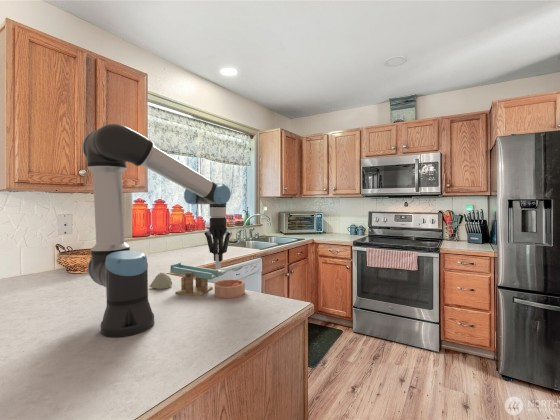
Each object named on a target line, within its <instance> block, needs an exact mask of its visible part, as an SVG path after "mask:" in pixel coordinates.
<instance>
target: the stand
mask: <svg viewBox="0 0 560 420" xmlns="http://www.w3.org/2000/svg"><path fill="white" fill-rule="evenodd" d="M208 280H209V279H203V278H198V277H195V285H194V277H193V273H191V272H186V273H185V275H183V277H181V278H180V283H181V284H180V287H181V289H178V290H177V291H175V295H185V296H188V295H189V296H197V297H199V296H200V297H201V296H202V295H204V294H206V293H208V292H209V291H211V290H213V289H212V288H213V287H214V286H209V285H208V284H209V282H208Z"/></svg>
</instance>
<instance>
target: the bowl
mask: <svg viewBox="0 0 560 420" xmlns="http://www.w3.org/2000/svg"><path fill="white" fill-rule="evenodd" d="M235 283H238V284H240V285H238V286H233V287H232V285H233V284H235ZM213 285H214V286H213V287H214V296H215V297H217V298H220V299H235V298H239V297H242V296H243V295H244V294H245V291H246V290H245V289H246V285H245V281H244V280H241V279H235V278H234V279H230V278H229V279H222V280H219V281H217V282H215V283H214V284H213Z"/></svg>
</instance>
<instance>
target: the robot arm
mask: <svg viewBox="0 0 560 420" xmlns="http://www.w3.org/2000/svg"><path fill="white" fill-rule="evenodd" d="M82 153H83V155H84V156H85V158H86V163H87V164H86V165H87V169H88V170H89V171H91V173H92V175H93V176H92V177H93V178H92V181H93V182H92V183H93V198H94V199H93V202H94V203H93V204H94V224H95V225H94V226H95V245H93V246H92V247H91V248H90V257H91V258H90V260H89V261H88V265H87V273H88V275H89V277H90V278H91V279H92V281H93V282H94V283H96V284H98V285H99V286H101V287H102V286H103V287H104V288H105V289H106V290H105V291H106V292H105V293H106V294H105V295H106V307H105V310H104V313H103V317H102V321H101V322H100V334H101V335H102V336H104V337H108V338H120V337H121V338H122V337H128V336H132V335H136V334H139V333H142V332H145V331H147V330H149V329H150V328H152V326H153V325H154V324H155V314H154V312H153V311H152V308H151V303H150V302H149V283H148V281H149V279H148V277H149V276H148V271H149V270H148V268H149V264H148V258H147V255H146V254H145V253H143V252H141V251H137V250H134V251H133V250H131V249H130V245H129V244H128V242H127V243H126V241H125V220H124V218H125V217H124V216H125V215H124V197H123V196H124V194H123V193H124V191H123V173H125V172H126V170H128V167H127V163H130V164H133V165H134V166H135V167H144V168H146V169H148V170H149V171H153V172H154V173H156V174H157V175H160V176H161V177H163V178H165V179H167V180H169V181H171V182H172V183H175V184H176V185H178V186H180V187H182V188H183V189H184V193H183V198H184V201H185V203H186V204H188V205H209V228H208V230H207V231H206V232H204V235H205V237H206V241H207V246H208V251H209V253H211V254H212V255H213V262H215V265H214V266H215V267H214V270H218V269H222V262H223V260H224V259H223V257H224V254H226V253H227V251H228V247H229V243H230V238H231V236H232V235H233V233H232V231H231V232H230V231H228V228H227V203H228V202H229V201H230V199H231V195H232V194H231V193H232V192H231V189H230V187H228V186H227V185H226V184H225V183H221V182H220V183H216V182H214V181H212V180H210V179H209V178H207V177H205V176H204V175H202V174H201V173H199V172H197V171H195V170H194V169H193V168H190V167H189V166H188V165H186V164H185V163H182V161H179V160H178V159H176V158H174V157H173V156H171V155H169V154H168V153H166V152H165V151H163V150H161V149H159V148H157V147H156V146H155V144H154V141H152V140H151V139H149V138H147V137H146V136H145V135H142V134H141V133H139V132H137V131H135V130H133V129H131V128H129V127H128V126H125V125H122V124H119V123H118V124H117V123H109V124H105V125H102V126H101V127H100V128H98V129H96V130H93V131H90V133H88V134H87V135H86V137H85V139H84V140H83V143H82ZM224 236H225V238H224Z"/></svg>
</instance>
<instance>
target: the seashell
mask: <svg viewBox="0 0 560 420" xmlns="http://www.w3.org/2000/svg"><path fill="white" fill-rule="evenodd" d="M172 285H173V281H172V279H171V277H170V276H169V275H168V274H166V273H164V272H159V273H157V275H156V276H155V277H154V279H153V280H152V282H151V283H150V284H149V285H148V288H149V287H150V288H152V289H157V290H160V289H161V290H162V289H163V290H164V289H167V288H168V289H169V288H170V287H171V286H172Z"/></svg>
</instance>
